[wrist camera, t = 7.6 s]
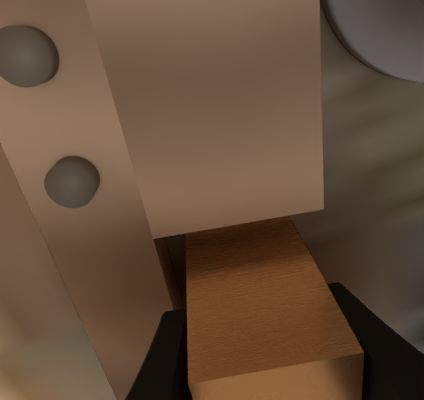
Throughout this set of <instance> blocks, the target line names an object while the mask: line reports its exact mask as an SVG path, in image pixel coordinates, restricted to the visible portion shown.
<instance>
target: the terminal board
mask: <svg viewBox="0 0 424 400" xmlns="http://www.w3.org/2000/svg"><path fill="white" fill-rule="evenodd" d="M0 143H1V145H2V148H3V150H4V152H5V154H6V156H7V159H8V161H9V163H10V165H11V167H12V170H13V172H14V174H15V176H16V178H17V181H18V183H19V185H20V187H21V189H22V192H23V194H24V196H25V198H26V200H27V203H28V205H29V207H30V209H31V211H32V214H33V216H34V218H35V220H36V222H37V225H38V227H39V229H40V231H41V233H42V236H43V238H44V240H45V242H46V244H47V247H48V249H49V251H50V253H51V255H52V258H53V260H54V262H55V264H56V266H57V269H58V271H59V273H60V275H61V277H62V280H63V282H64V284H65V286H66V288H67V291H68V293H69V295H70V297H71V299H72V302H73V304H74V306H75V308H76V310H77V313H78V315H79V317H80V319H81V321H82V324H83V326H84V328H85V330H86V332H87V335H88V337H89V339H90V341H91V343H92V346H93V348H94V350H95V352H96V354H97V357H98V359H99V361H100V363H101V365H102V368H103V370H104V372H105V374H106V376H107V379H108V381H109V383H110V385H111V387H112V390H113V392H114V394H115V396H116V398H117V400H125V398H126V396H127V394H128V392H129V391H130V389H131V387H132V385H133V383H134V381H135V379H136V376H137V374H138V372H139V370H140V368H141V366H142V363H143V361H144V359H145V357H146V355H147V352H148V350H149V348H150V345H151V343H152V340H153V338H154V335H155V333H156V330H157V328H158V325H159V322H160V319H161V316H162V314H163V313H164V312H166V311H172V310H177V309H183V308H184V306H183V302H182V299H181V295H180V291H179V287H178V284H177V280H176V276H175V272H174V269H173V265H172V261H171V257H170V254H169V250H168V246H167V242H166V238H165V237H167V236H173V235H179V234H185V233H190V232H196V231H202V230H208V229H213V228H219V227H225V226H231V225H237V224H242V223H248V222H254V221H260V220H265V219H271V218H277V217H283V216H288V215H294V214H300V213H306V212H312V211H317V210H323V209H324V184H323V135H322V87H321V38H320V0H0Z"/></svg>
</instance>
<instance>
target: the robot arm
mask: <svg viewBox="0 0 424 400" xmlns="http://www.w3.org/2000/svg"><path fill="white" fill-rule="evenodd" d="M327 285H328V287H329V289H330V291H331V293H332V295H333V296H334V298H335V300H336V302H337V304H338V306H339V307H340V309H341V311H342V313H343V315H344V317H345V318H346V320H347V322H348V324H349V326H350V328H351V329H352V331H353V333H354V335H355V337H356V339H357V340H358V342H359V344H360V346H361V348H362V350H363V351H364V365H363V384H362V400H424V354H423V353H421V352H420V351H419V350H417V349H416V348H415V347H413V346H412V345H411V344H410V343H408V342H407V341H406V340H405V339H403V338H402V337H401V336H400V335H399V334H397V333H396V332H395V331H394V330H393V329H391V328H390V327H389V326H388V325H387V324H385V323H384V322H383V321H382V320H381V319H380V318H378V317H377V316H376V315H375V314H374V313H373V312H372V311H370V310H369V309H368V308H367V307H366V306H365V305H364V304H363V303H361V302H360V301H359V300H358V299H357V298H356V297H355V296H354V295H353V294H352V293H351V292H350V291H348V290H347V289H346V288H345V287H344V286H343V285H342V284H341V283H339V282H337V283H331V284H327ZM125 400H193V398H192V395H191V392H190V389H189V385H188V346H187V313H186V309H185V308H183V309H177V310H172V311H166V312H164V313H163V314H162V316H161V319H160V322H159V325H158V328H157V330H156V333H155V335H154V338H153V340H152V343H151V345H150V348H149V350H148V352H147V355H146V357H145V359H144V361H143V363H142V366H141V368H140V370H139V372H138V374H137V376H136V379H135V381H134V383H133V385H132V387H131V389H130V391H129V392H128V394H127V396H126V398H125Z"/></svg>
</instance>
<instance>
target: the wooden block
mask: <svg viewBox="0 0 424 400" xmlns="http://www.w3.org/2000/svg"><path fill="white" fill-rule="evenodd" d="M186 288H187V346H188V385H189V389H190V392H191V395H192V398H193V400H362V384H363V365H364V351H363V350H362V348H361V346H360V344H359V342H358V340H357V339H356V337H355V335H354V333H353V331H352V329H351V328H350V326H349V324H348V322H347V320H346V318H345V317H344V315H343V313H342V311H341V309H340V307H339V306H338V304H337V302H336V300H335V298H334V296H333V295H332V293H331V291H330V289H329V287H328V285H327V284H326V282H325V280H324V278H323V276H322V274H321V273H320V271H319V269H318V267H317V265H316V263H315V262H314V260H313V258H312V256H311V254H310V252H309V251H308V249H307V247H306V245H305V243H304V241H303V240H302V238H301V236H300V234H299V232H298V230H297V229H296V227H295V225H294V223H293V221H292V220H291V218H290V216H289V215H288V216H283V217H277V218H271V219H265V220H260V221H254V222H248V223H242V224H237V225H231V226H225V227H219V228H213V229H208V230H202V231H196V232H190V233H186Z"/></svg>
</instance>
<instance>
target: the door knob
mask: <svg viewBox="0 0 424 400" xmlns="http://www.w3.org/2000/svg"><path fill="white" fill-rule="evenodd" d="M321 3H322V6H323V9H324V12H325V15H326V17H327V19H328V21H329V23H330V25H331V27H332V29H333V31H334V33H335V34H336V35H337V37H338V38H339V40H340V41H341V43H342V44H343V45H344V46H345V47H346V48H347V50H348V51H349V52H350V53H351V54H352V55H353V56H355V57H356V58H357V59H358V60H360V61H361V62H362V63H364V64H365V65H367V66H369V67H371V68H372V69H374V70H376V71H378V72H381V73H384V74H387V75H390V76H394V77H398V78H402V79H406V80H411V81H417V82H424V0H321Z"/></svg>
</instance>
